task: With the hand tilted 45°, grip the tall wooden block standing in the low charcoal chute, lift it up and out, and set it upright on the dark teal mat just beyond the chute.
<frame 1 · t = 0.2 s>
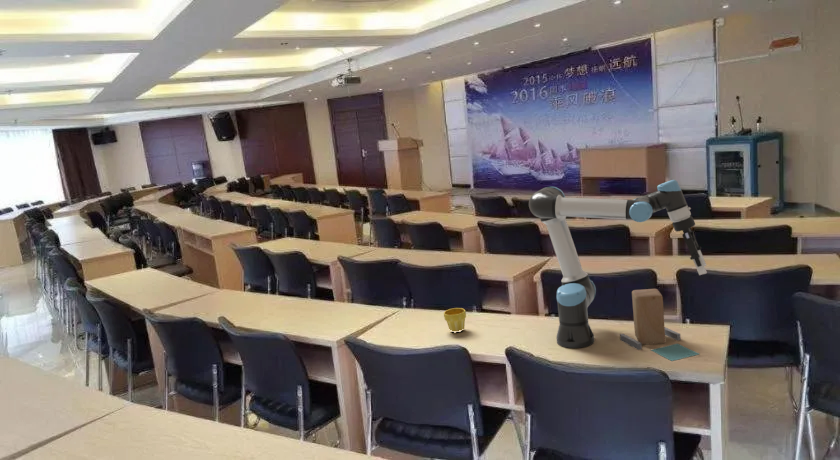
hand: (703, 270, 213), 27 cm above the table, tool tilted 20°, fingers open, 13 cm apart
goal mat: (674, 352, 208), on the table
plant pot: (457, 331, 261), on the table
wooden block: (650, 340, 222), on the table
chute: (649, 340, 222), on the table
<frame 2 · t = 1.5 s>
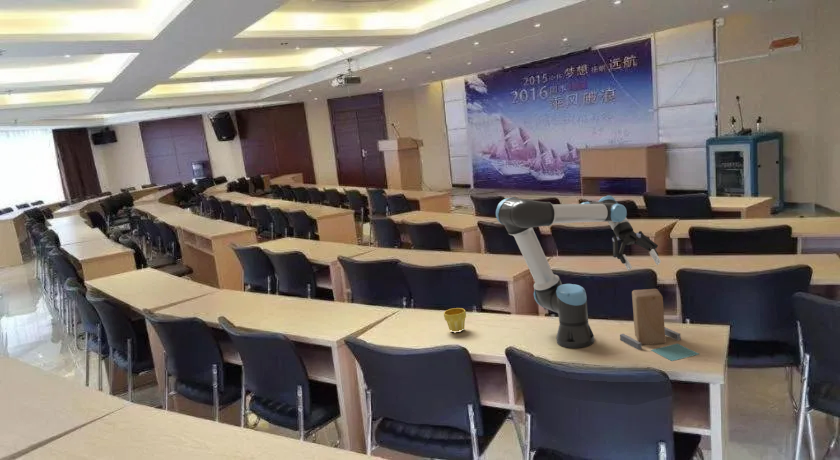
hand: (644, 266, 229), 27 cm above the table, tool tilted 45°, fingers open, 13 cm apart
nothing on the table moved.
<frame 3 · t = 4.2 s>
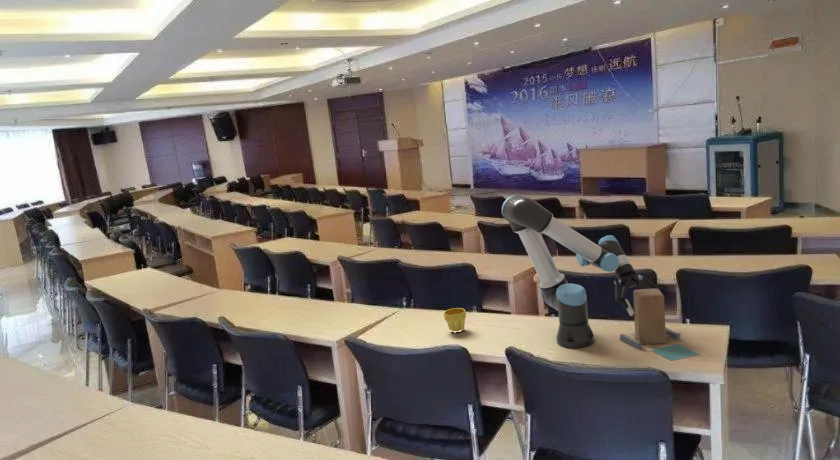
hand: (647, 311, 225), 10 cm above the table, tool tilted 45°, fingers open, 13 cm apart
wooden block: (650, 340, 222), on the table, touching gripper
everything else where it was.
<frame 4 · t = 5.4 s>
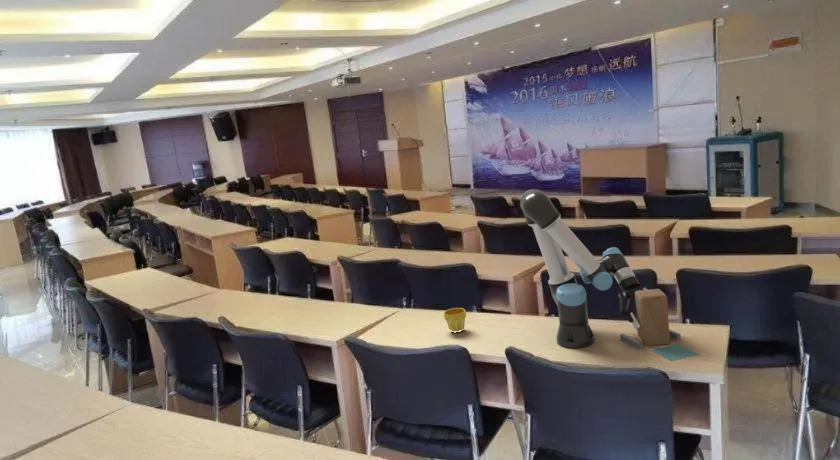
hand: (653, 325, 219), 7 cm above the table, tool tilted 45°, fingers open, 13 cm apart
wooden block: (653, 341, 221), on the table, touching gripper
everything else where it was.
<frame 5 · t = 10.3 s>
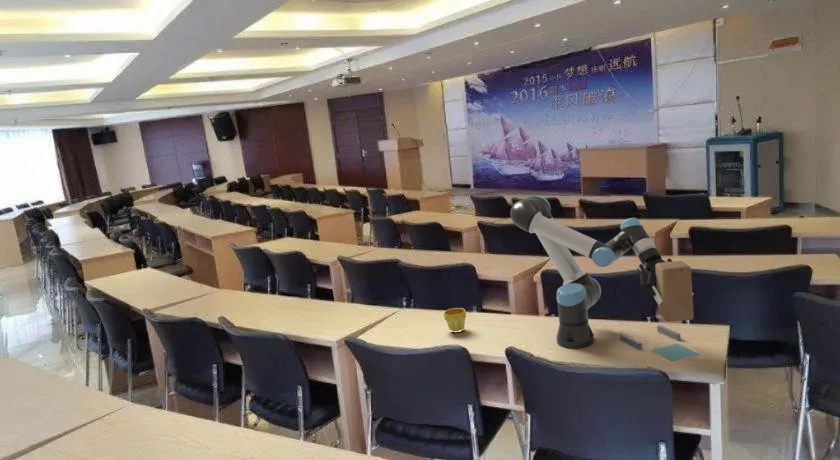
hand: (676, 299, 202), 21 cm above the table, tool tilted 45°, fingers closed on wooden block, 12 cm apart
wooden block: (675, 317, 204), point 14 cm above the table, touching gripper
everything else where it was.
when the fingers open (8 cm above the table, at t = 14.4 s): wooden block stays where it is, resting on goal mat.
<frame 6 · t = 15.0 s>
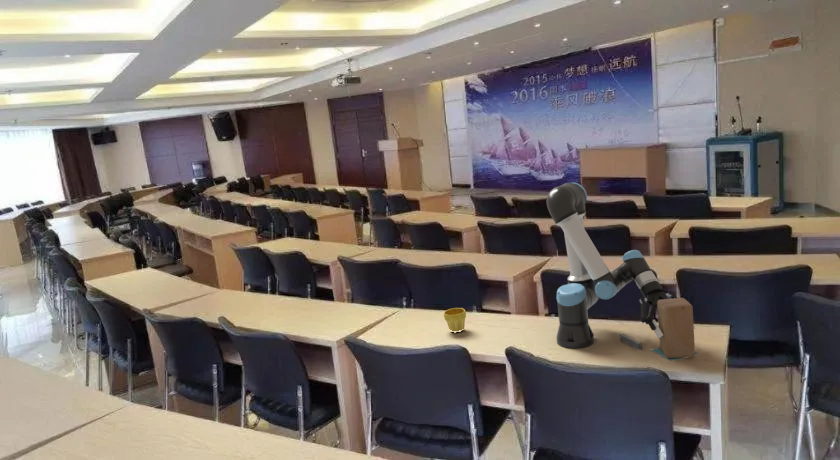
hand: (677, 333, 205), 8 cm above the table, tool tilted 45°, fingers open, 13 cm apart
wooden block: (677, 353, 207), resting on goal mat
everything else where it was.
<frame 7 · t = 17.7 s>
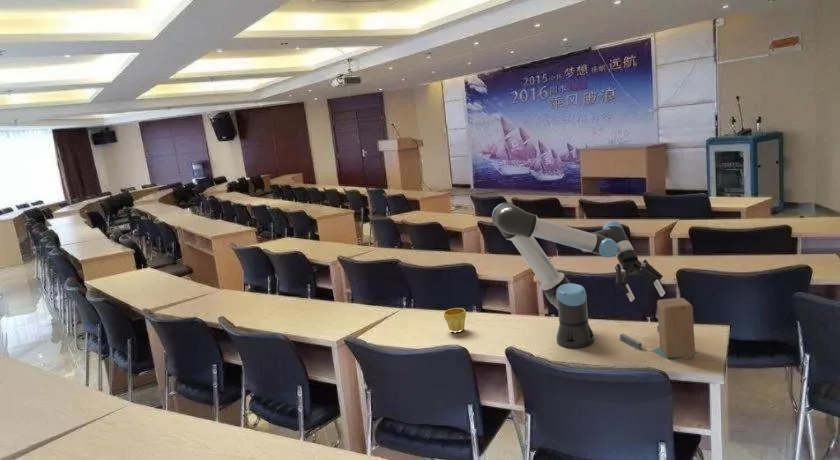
hand: (647, 297, 221), 17 cm above the table, tool tilted 45°, fingers open, 13 cm apart
nothing on the table moved.
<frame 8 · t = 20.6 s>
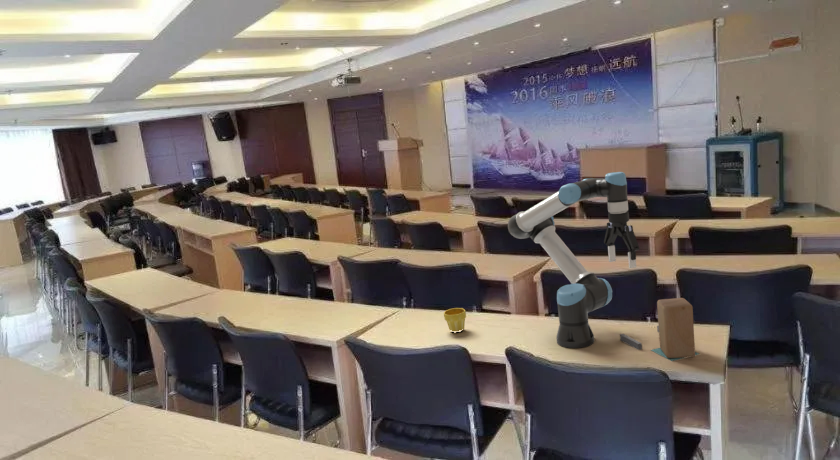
hand: (622, 264, 220), 32 cm above the table, tool pointing down, fingers open, 13 cm apart
nothing on the table moved.
at the end: wooden block inside the target area on the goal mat (1.5 cm from its centre), point 0.0 cm above the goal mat's base; wooden block tilted 0°; the gripper is holding nothing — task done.
